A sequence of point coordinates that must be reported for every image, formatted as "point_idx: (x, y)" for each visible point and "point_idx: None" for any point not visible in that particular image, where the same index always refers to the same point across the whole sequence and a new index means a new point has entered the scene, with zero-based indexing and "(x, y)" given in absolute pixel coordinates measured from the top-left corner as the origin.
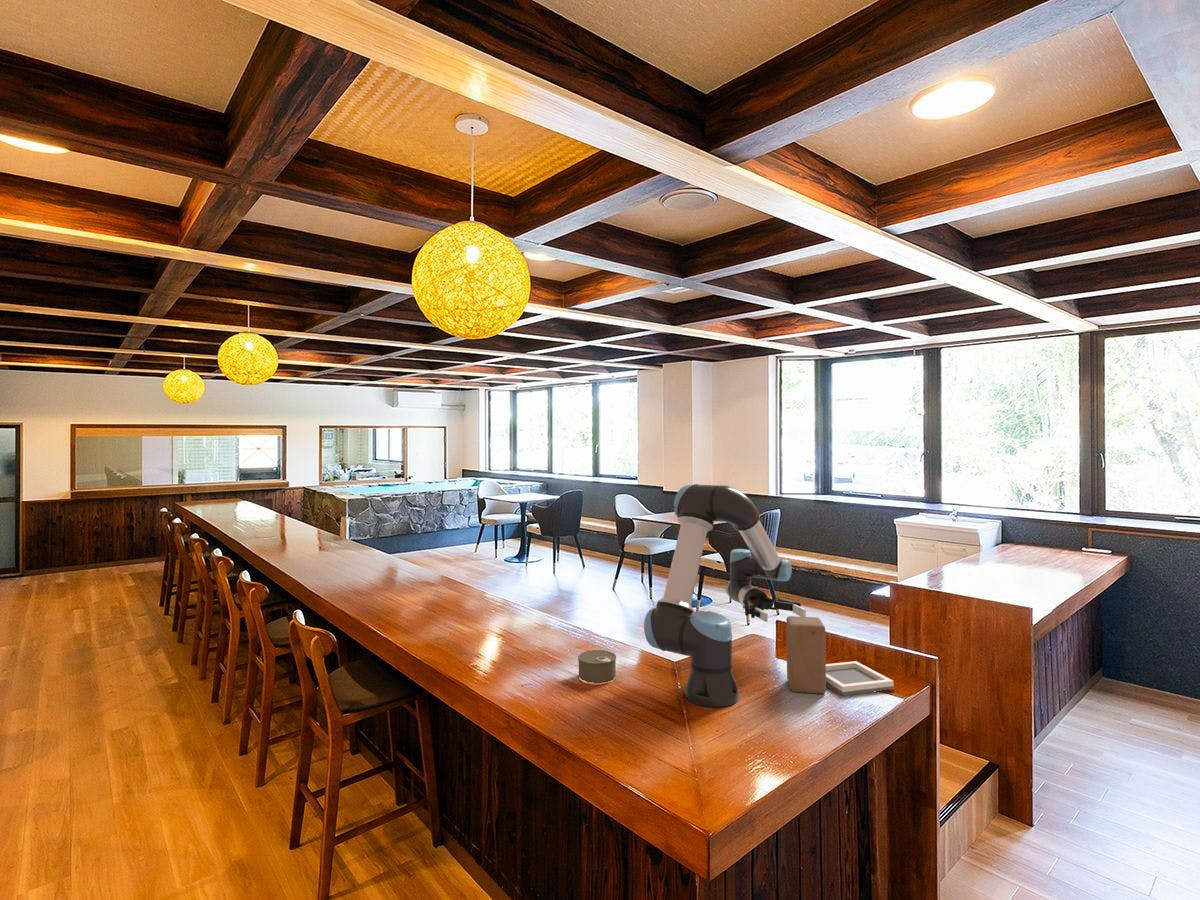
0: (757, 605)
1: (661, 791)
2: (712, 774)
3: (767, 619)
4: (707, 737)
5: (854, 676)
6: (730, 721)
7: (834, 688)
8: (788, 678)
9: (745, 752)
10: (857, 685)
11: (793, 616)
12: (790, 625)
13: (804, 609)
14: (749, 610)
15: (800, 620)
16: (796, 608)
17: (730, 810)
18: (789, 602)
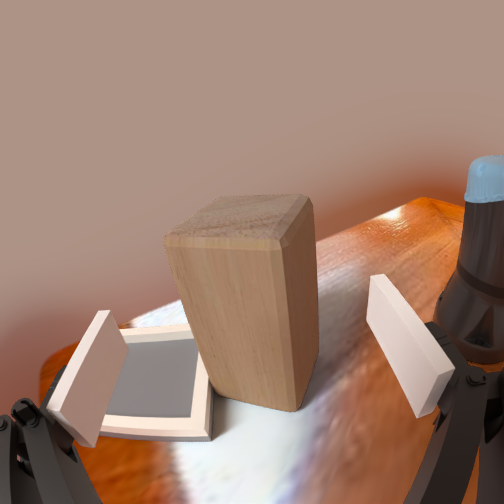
0: (419, 499)
1: (459, 209)
2: (433, 218)
3: (367, 310)
4: (452, 247)
5: (129, 382)
6: (435, 270)
7: None
8: (310, 370)
9: (411, 234)
10: (180, 325)
11: (257, 229)
12: (309, 199)
13: (104, 311)
14: (489, 376)
15: (258, 208)
16: (86, 382)
17: (414, 202)
18: (15, 491)
